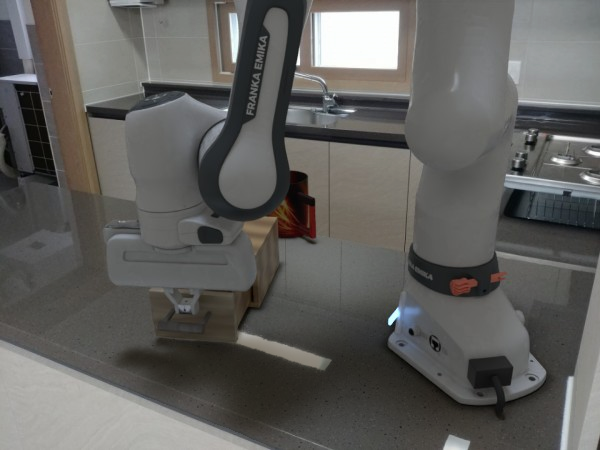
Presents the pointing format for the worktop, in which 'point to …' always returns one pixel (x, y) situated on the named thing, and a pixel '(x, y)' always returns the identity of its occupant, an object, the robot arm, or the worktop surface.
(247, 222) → the cabinet
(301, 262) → the worktop surface
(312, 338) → the worktop surface
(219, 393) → the worktop surface
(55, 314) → the worktop surface
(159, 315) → the drawer
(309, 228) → the mug
